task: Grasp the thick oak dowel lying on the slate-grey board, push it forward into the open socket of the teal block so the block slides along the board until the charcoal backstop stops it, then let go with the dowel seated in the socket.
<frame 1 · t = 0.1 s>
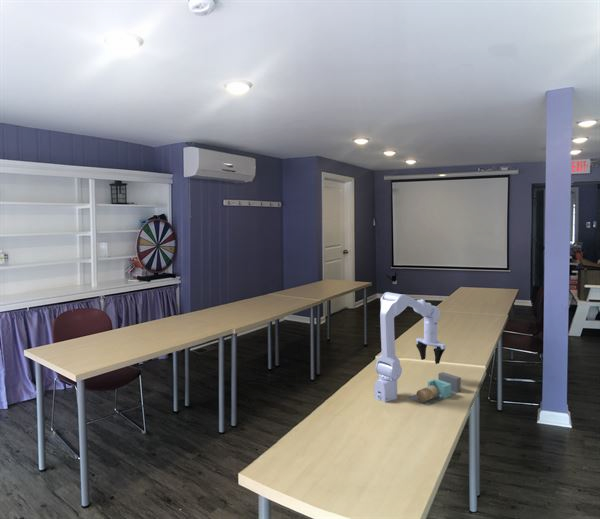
hand: (430, 361, 203), 10 cm above the table, fingers open, 7 cm apart
backstop wall: (449, 390, 195), on the table
dowel: (427, 399, 184), point 1 cm above the table, touching board
board: (432, 396, 188), on the table
socket block: (439, 388, 189), point 3 cm above the table, slide at 0.0 cm
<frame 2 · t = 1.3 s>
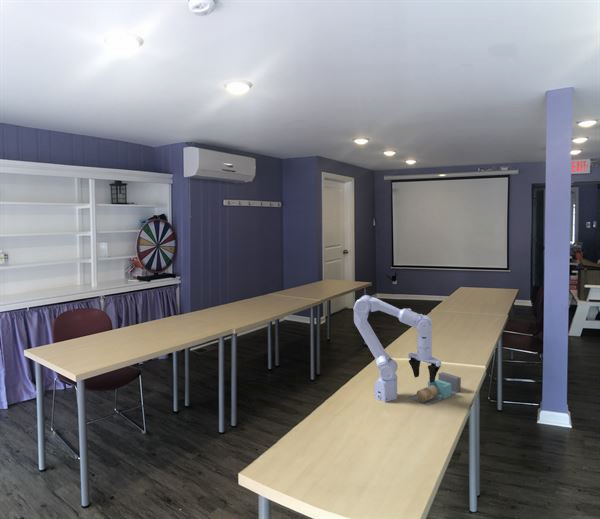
hand: (424, 379, 182), 9 cm above the table, fingers open, 7 cm apart
nothing on the table moved.
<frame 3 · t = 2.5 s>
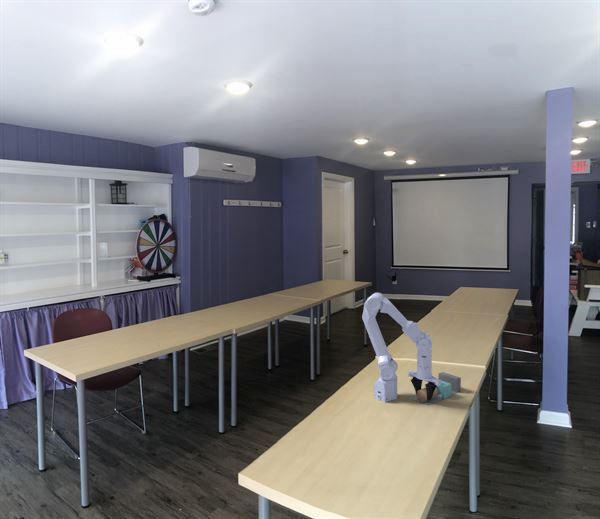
hand: (424, 397, 183), 2 cm above the table, fingers closed on dowel, 5 cm apart
dowel: (427, 399, 184), point 1 cm above the table, touching board, gripper
everything else where it was.
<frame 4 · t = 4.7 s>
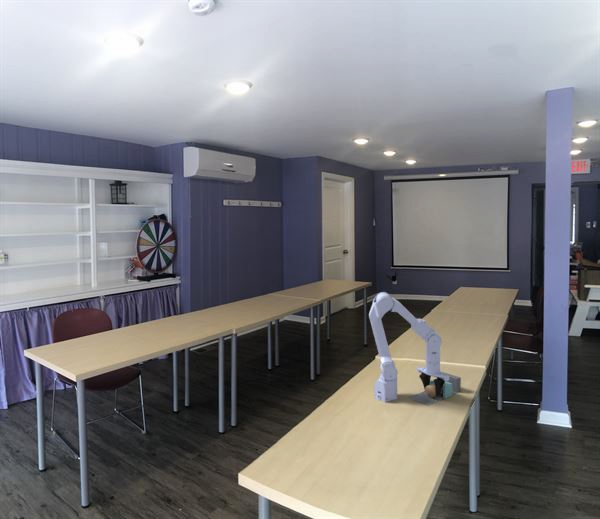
hand: (432, 393, 186), 2 cm above the table, fingers closed on dowel, 5 cm apart
dowel: (435, 394, 188), point 1 cm above the table, touching gripper, socket block
socket block: (440, 388, 189), point 3 cm above the table, slide at 0.8 cm, touching dowel
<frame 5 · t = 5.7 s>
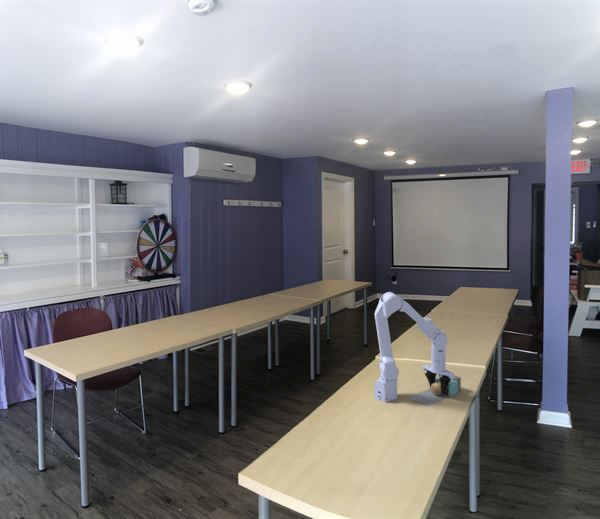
hand: (438, 391, 188), 2 cm above the table, fingers closed on dowel, 5 cm apart
dowel: (441, 392, 190), point 1 cm above the table, touching gripper, socket block
socket block: (445, 385, 192), point 3 cm above the table, slide at 4.5 cm, touching dowel
when the fingers open (2 cm above the table, at t = 7.0 s): dowel stays where it is, resting on board.
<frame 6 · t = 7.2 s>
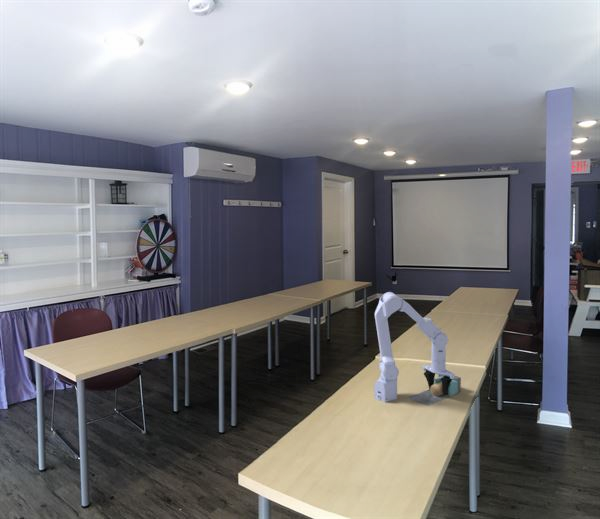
hand: (438, 390, 188), 2 cm above the table, fingers open, 6 cm apart
dowel: (441, 393, 190), point 1 cm above the table, touching board
socket block: (445, 385, 192), point 3 cm above the table, slide at 4.5 cm
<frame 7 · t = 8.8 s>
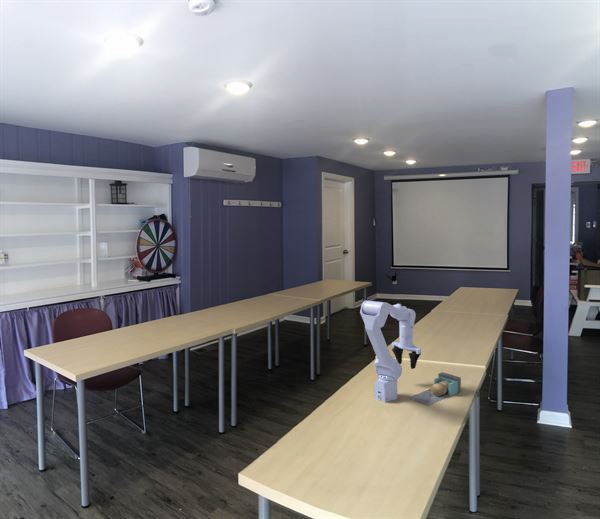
hand: (406, 366, 198), 10 cm above the table, fingers open, 7 cm apart
nothing on the table moved.
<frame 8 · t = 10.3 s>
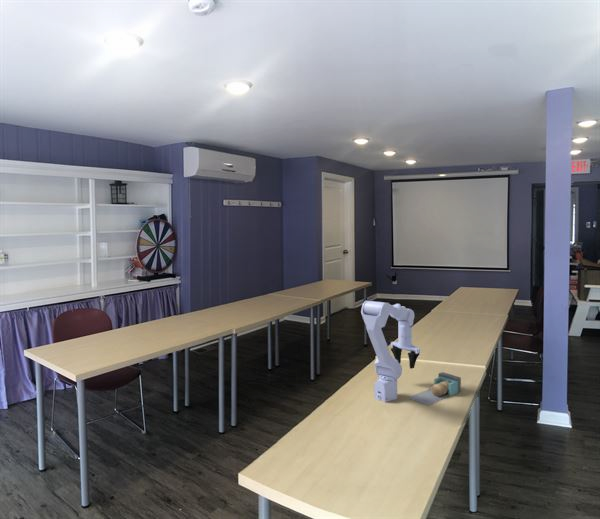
hand: (405, 365, 198), 10 cm above the table, fingers open, 7 cm apart
dowel: (441, 393, 190), point 1 cm above the table, tilted 8°, touching board
everything else where it was.
at the end: socket block slide at 4.5 cm; dowel 0.2 cm from the target spot on the socket block, point 0.0 cm above the socket block's base; the gripper is holding nothing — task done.
